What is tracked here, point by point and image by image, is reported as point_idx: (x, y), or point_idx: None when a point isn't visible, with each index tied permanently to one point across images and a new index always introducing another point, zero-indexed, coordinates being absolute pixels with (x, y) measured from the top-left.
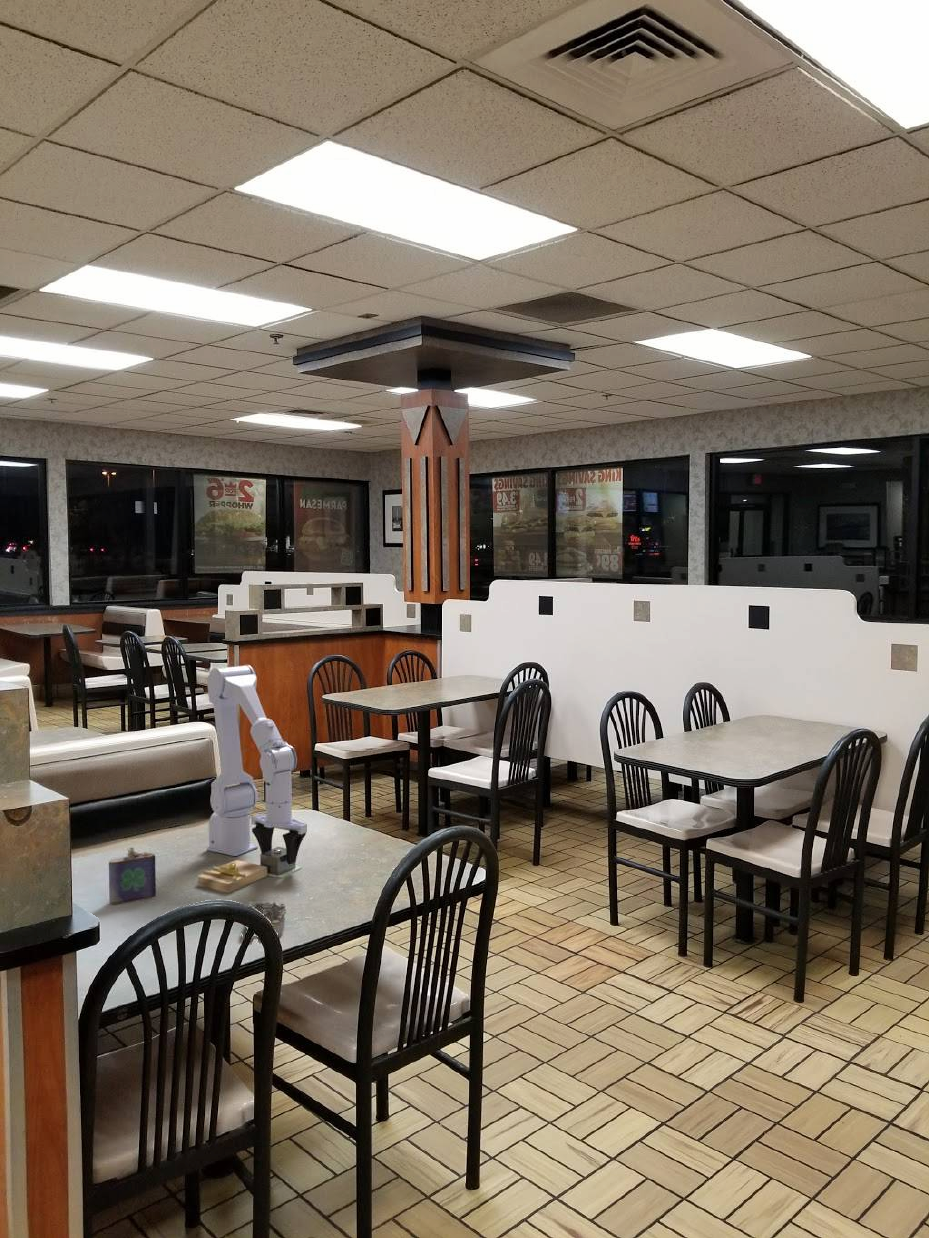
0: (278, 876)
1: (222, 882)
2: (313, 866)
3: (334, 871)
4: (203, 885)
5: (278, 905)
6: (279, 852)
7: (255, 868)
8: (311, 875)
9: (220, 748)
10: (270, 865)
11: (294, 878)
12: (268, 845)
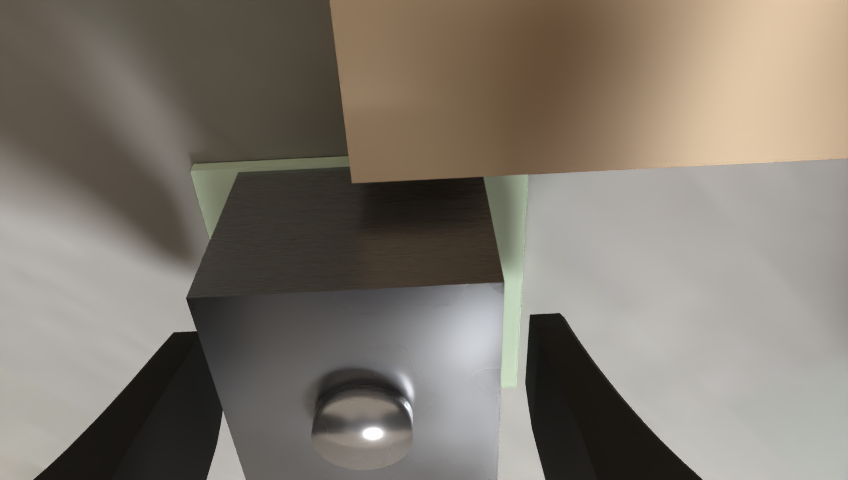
0: (225, 167)
1: None
2: (226, 451)
3: (18, 458)
4: None
5: None
6: (314, 411)
7: (434, 70)
8: (55, 338)
9: None
10: (327, 217)
11: (90, 223)
12: (555, 467)
